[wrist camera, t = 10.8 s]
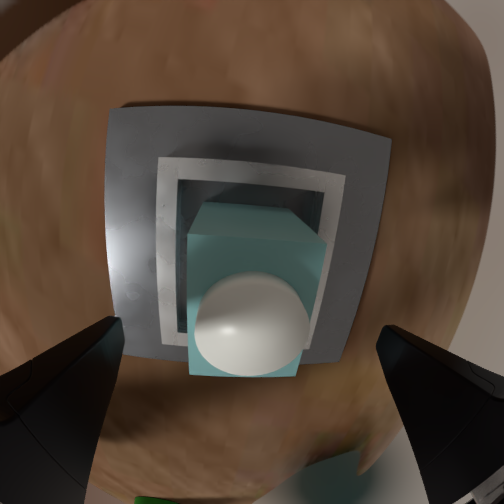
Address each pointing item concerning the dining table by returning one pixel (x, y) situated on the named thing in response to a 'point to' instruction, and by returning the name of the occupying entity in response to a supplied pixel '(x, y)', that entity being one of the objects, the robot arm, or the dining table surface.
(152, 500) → the green tall cylinder
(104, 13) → the dining table surface
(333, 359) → the mounting plate
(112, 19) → the dining table surface
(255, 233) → the block
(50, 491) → the robot arm
